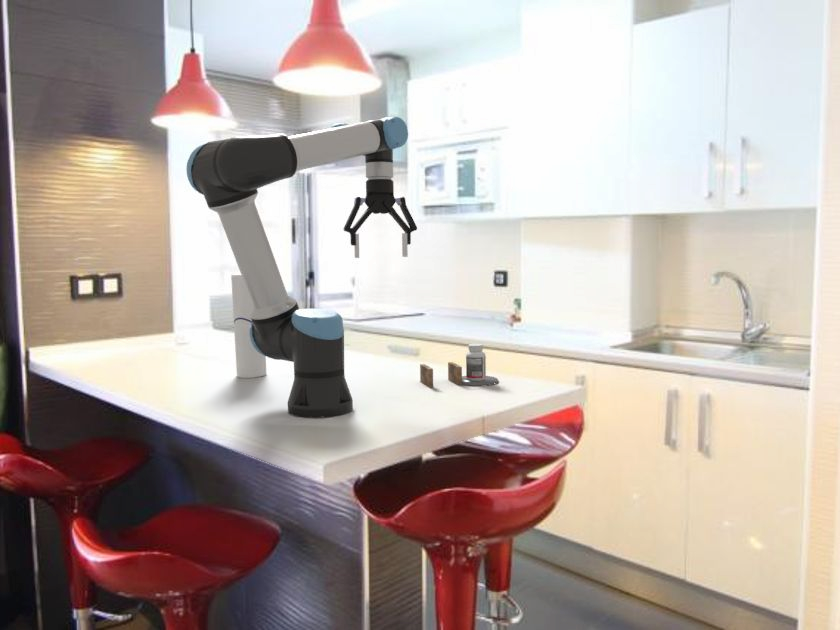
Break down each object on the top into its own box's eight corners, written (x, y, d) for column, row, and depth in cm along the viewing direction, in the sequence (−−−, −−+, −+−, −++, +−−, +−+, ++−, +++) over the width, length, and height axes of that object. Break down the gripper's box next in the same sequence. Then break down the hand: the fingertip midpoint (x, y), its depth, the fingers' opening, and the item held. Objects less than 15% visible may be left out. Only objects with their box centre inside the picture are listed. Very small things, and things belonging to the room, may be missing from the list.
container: (256, 378, 203) (250, 274, 200) (231, 377, 206) (225, 275, 203) (271, 372, 211) (266, 273, 208) (247, 372, 214) (242, 273, 211)
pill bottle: (472, 376, 198) (472, 342, 197) (489, 378, 195) (489, 344, 194) (462, 380, 194) (462, 345, 192) (479, 382, 190) (479, 346, 189)
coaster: (504, 384, 190) (504, 382, 190) (463, 387, 187) (463, 385, 187) (488, 376, 202) (488, 374, 202) (448, 379, 198) (448, 377, 198)
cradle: (462, 385, 190) (461, 366, 189) (428, 387, 187) (428, 369, 187) (452, 379, 198) (452, 362, 197) (420, 381, 195) (420, 364, 194)
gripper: (419, 180, 198) (420, 256, 200) (331, 180, 191) (334, 257, 193) (427, 178, 191) (428, 256, 193) (336, 177, 184) (338, 258, 186)
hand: (381, 257), depth 193 cm, fingers open, 13 cm apart
